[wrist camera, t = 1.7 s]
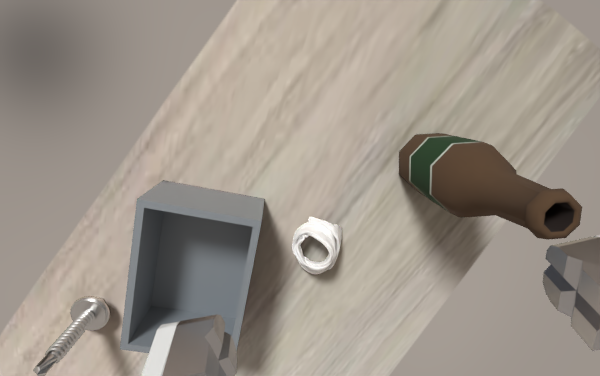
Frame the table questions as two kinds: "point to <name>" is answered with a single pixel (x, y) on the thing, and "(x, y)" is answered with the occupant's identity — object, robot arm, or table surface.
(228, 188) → the table surface
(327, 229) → the white crumpled ring
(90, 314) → the screw
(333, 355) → the table surface
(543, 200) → the beer bottle
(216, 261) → the tote
